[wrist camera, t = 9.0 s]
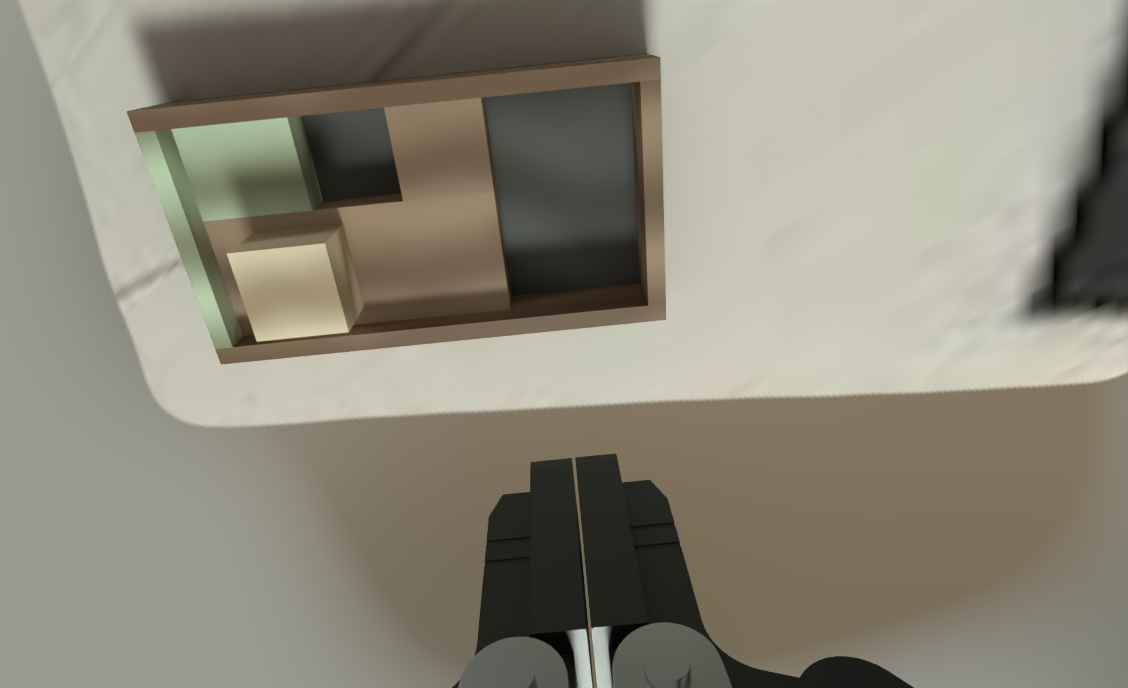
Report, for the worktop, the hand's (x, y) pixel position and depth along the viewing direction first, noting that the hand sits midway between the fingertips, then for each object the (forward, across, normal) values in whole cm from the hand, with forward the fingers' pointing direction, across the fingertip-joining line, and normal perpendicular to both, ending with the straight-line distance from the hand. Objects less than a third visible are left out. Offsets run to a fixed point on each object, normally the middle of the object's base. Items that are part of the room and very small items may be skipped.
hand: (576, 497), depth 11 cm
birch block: (+26, +14, +4) cm, 30 cm away
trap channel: (+29, +7, +2) cm, 30 cm away
